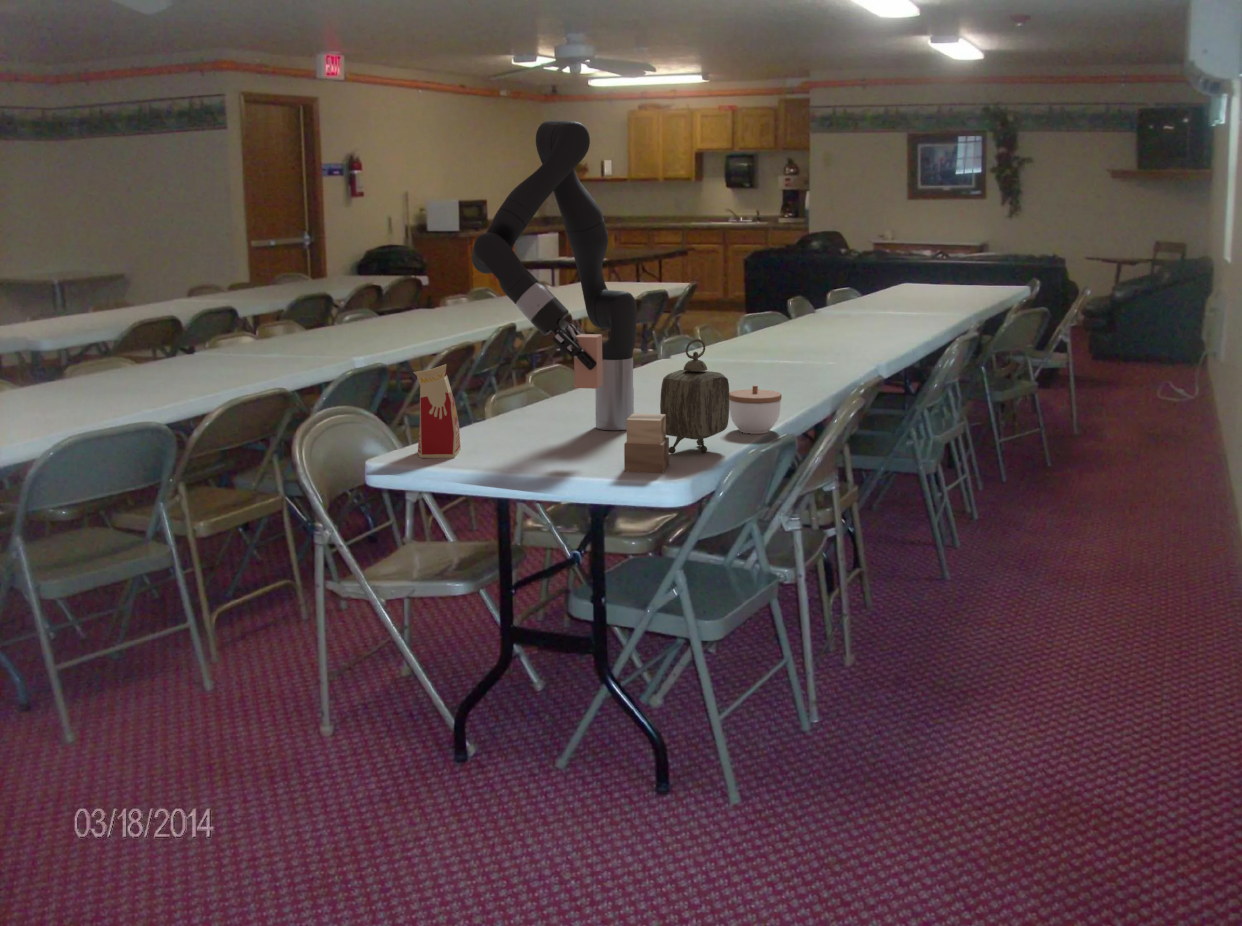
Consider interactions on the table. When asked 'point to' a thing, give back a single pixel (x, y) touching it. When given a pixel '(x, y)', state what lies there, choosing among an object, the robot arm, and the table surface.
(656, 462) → the walnut block
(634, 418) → the oak block
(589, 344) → the terracotta pillar
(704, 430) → the tabletop clock
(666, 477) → the table surface
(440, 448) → the milk carton
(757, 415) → the lidded bowl
